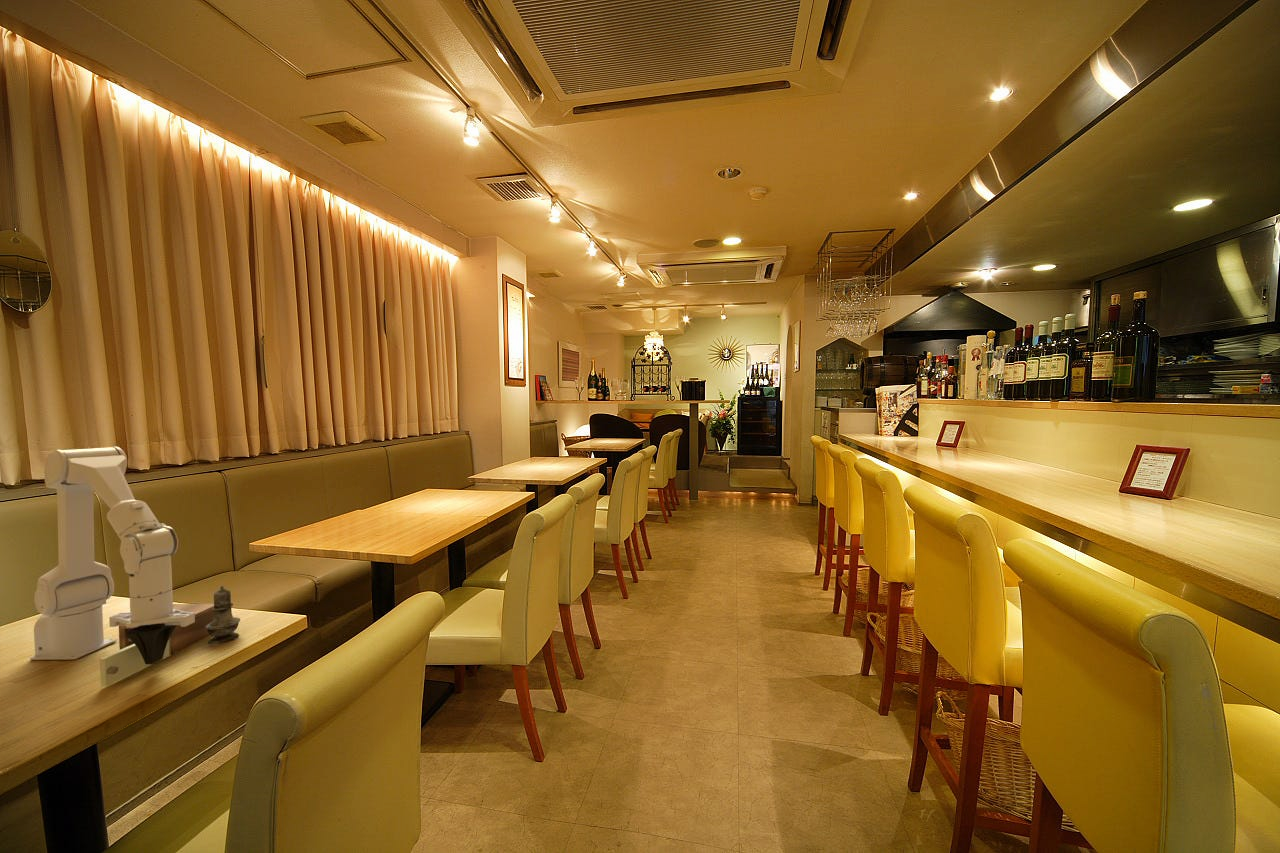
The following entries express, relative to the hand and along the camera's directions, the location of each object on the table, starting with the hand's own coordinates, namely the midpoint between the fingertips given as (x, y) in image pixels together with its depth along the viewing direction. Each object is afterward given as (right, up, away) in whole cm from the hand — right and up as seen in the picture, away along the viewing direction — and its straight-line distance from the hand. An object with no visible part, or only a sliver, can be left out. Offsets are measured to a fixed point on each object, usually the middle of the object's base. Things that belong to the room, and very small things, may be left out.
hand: (154, 661), depth 92 cm
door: (-3, -2, +1) cm, 4 cm away
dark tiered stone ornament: (+1, -2, +14) cm, 14 cm away
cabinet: (-9, -2, +13) cm, 16 cm away
